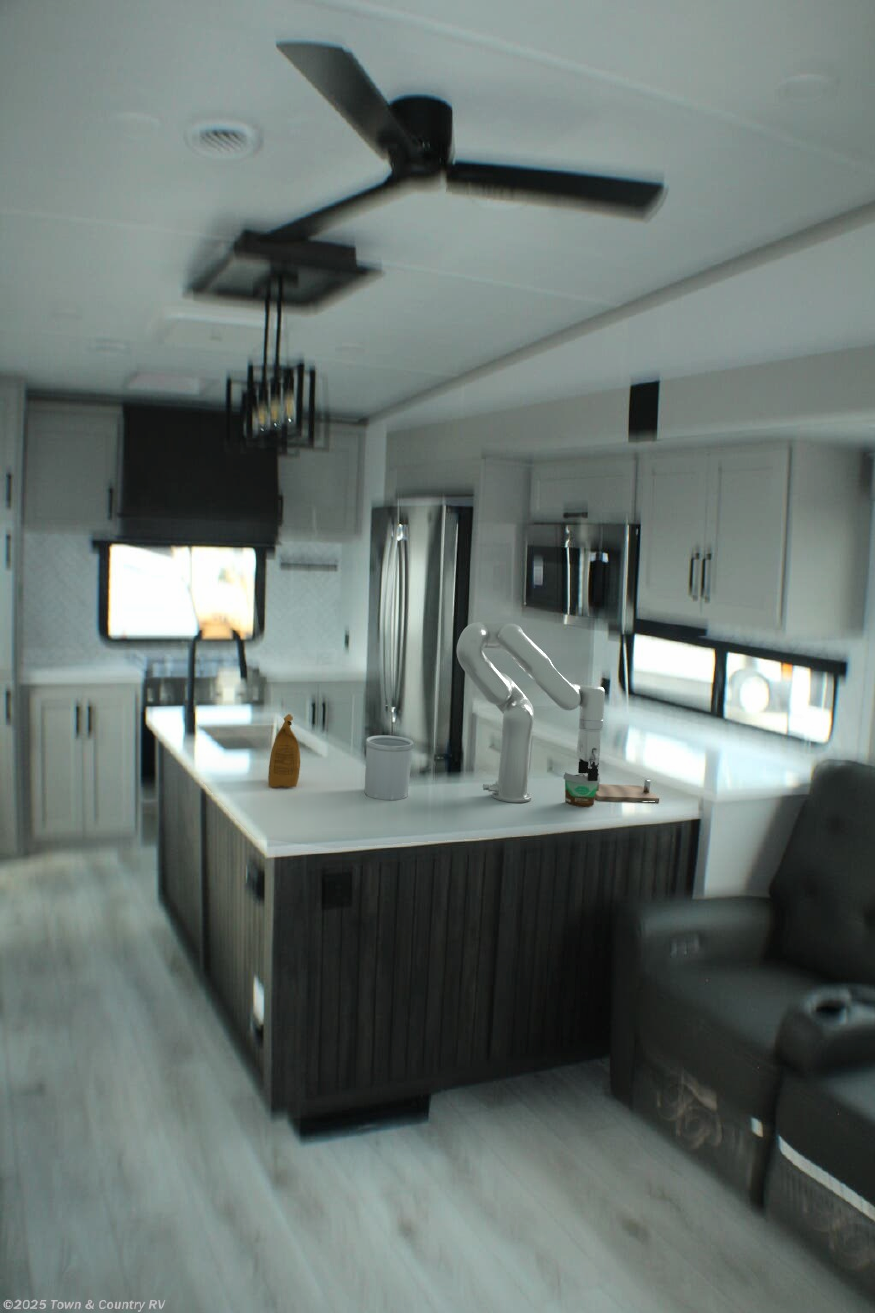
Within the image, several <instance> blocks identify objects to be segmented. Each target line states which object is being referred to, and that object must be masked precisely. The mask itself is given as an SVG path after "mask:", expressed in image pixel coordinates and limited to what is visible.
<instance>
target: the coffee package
mask: <svg viewBox="0 0 875 1313" xmlns="http://www.w3.org/2000/svg"><path fill="white" fill-rule="evenodd" d="M293 719H294V718H293V716H292V715H291V713H290V714H289V713H288V714H287V715H286V716H285V717H283V720H284V722H283V724H282V725H281V728H280V730H278V732H277V734H276V736H275V739H274V742H273V746H272V747H271V752H270V758H269V763H268V764H269V765H268V775H267V776H268V777H267V781H268V786H269V787H270V788H272V789H273V788H293V787H297V785H298V781H299V778H300V771H301V752H300V746H299V742H298V739H297V737H296V735H295V734H294V732H293V731H292V729H291V726H292V721H293Z"/></svg>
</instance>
